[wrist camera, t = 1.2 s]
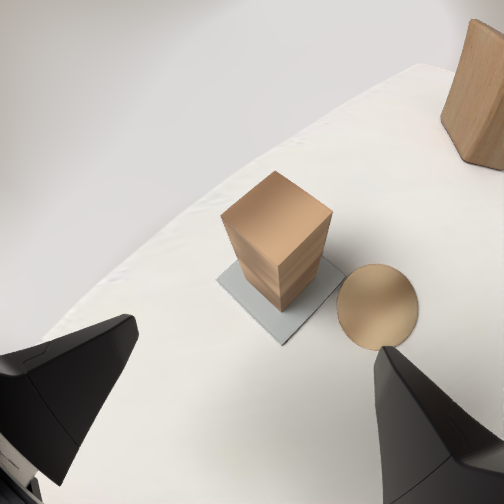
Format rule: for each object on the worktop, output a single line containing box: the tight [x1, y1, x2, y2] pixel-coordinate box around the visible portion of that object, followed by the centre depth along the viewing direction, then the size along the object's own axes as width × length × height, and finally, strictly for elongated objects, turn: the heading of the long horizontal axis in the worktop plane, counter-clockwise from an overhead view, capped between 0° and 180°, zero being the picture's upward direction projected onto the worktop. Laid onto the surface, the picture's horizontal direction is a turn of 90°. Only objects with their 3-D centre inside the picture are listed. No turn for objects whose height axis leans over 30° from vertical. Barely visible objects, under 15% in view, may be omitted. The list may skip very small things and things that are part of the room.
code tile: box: [216, 256, 346, 345], centre depth 23 cm, size 8×8×1 cm
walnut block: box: [220, 171, 333, 312], centre depth 18 cm, size 4×4×10 cm
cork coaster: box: [337, 264, 418, 350], centre depth 21 cm, size 8×8×1 cm
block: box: [441, 19, 504, 170], centre depth 19 cm, size 10×10×20 cm
